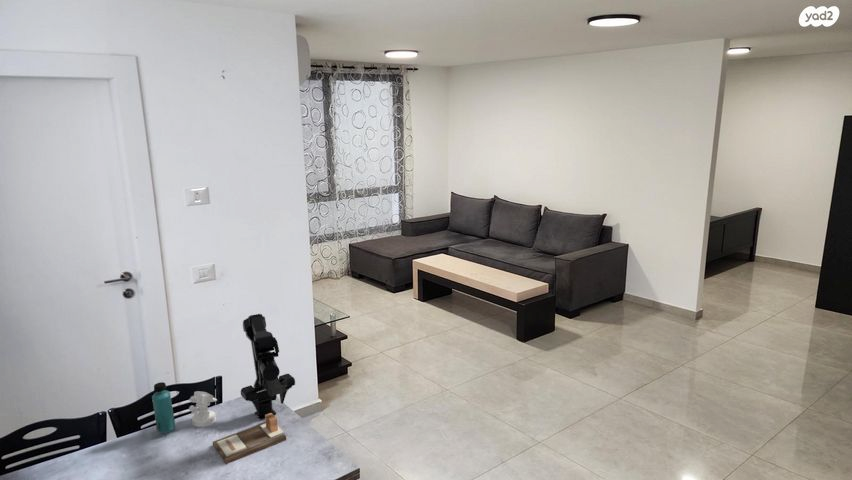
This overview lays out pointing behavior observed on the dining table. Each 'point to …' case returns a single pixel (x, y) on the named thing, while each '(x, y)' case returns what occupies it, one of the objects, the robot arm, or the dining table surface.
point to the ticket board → (245, 443)
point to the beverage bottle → (163, 408)
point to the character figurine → (202, 409)
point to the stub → (271, 426)
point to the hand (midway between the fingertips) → (270, 407)
